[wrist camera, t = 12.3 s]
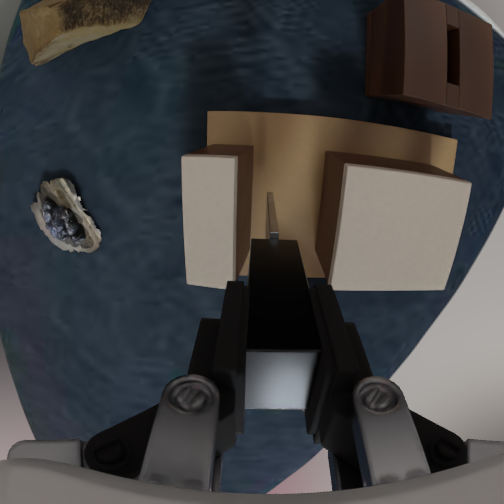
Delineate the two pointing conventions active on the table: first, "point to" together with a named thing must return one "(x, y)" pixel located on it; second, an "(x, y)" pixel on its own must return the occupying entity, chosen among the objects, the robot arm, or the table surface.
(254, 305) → the knife
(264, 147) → the board
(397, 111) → the table surface
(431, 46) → the knife block
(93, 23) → the rock
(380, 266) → the cake loaf
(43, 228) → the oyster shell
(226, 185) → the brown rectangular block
